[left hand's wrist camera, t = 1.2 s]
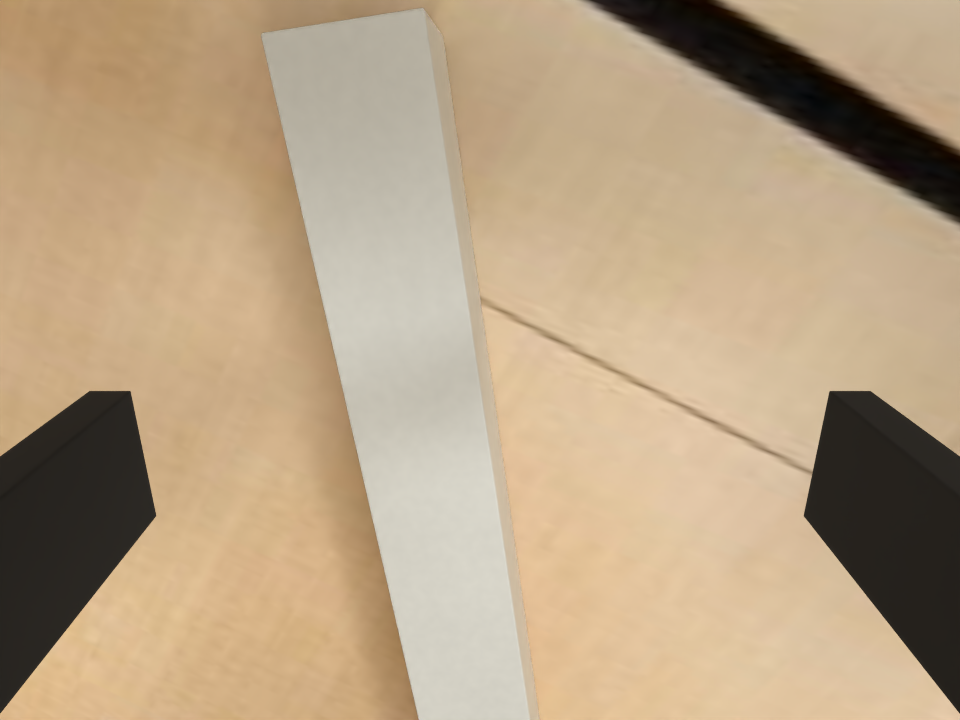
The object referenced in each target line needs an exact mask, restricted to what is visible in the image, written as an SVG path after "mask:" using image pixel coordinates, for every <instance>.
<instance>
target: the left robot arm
mask: <svg viewBox="0 0 960 720" xmlns="http://www.w3.org/2000/svg"><path fill="white" fill-rule="evenodd" d="M155 517H156V512H155V508H154V503H153V498H152V493H151V488H150V483H149V479H148V474H147V469H146V464H145V459H144V454H143V450H142V445H141V440H140V435H139V430H138V426H137V421H136V416H135V411H134V406H133V401H132V397H131V392H130V391H89V392H88V393H86V394H85V395H84V396H82V397H81V398H80V399H78V400H77V401H75V402H74V403H73V404H71V405H70V406H69V407H67V408H66V409H65V410H63V411H62V412H60V413H59V414H58V415H56V416H55V417H54V418H52V419H51V420H50V421H48V422H47V423H45V424H44V425H43V426H41V427H40V428H39V429H37V430H36V431H34V432H33V433H32V434H30V435H29V436H28V437H26V438H25V439H24V440H22V441H21V442H19V443H18V444H17V445H15V446H14V447H13V448H11V449H10V450H8V451H7V452H6V453H4V454H3V455H2V456H0V713H1V712H2V711H3V709H4V708H5V707H6V706H7V704H8V703H9V702H10V700H11V699H12V698H13V697H14V695H15V694H16V693H17V692H18V690H19V689H20V688H21V687H22V685H23V684H24V683H25V681H26V680H27V679H28V678H29V676H30V675H31V674H32V673H33V671H34V670H35V669H36V668H37V666H38V665H39V664H40V662H41V661H42V660H43V659H44V657H45V656H46V655H47V654H48V652H49V651H50V650H51V649H52V647H53V646H54V645H55V643H56V642H57V641H58V640H59V638H60V637H61V636H62V635H63V633H64V632H65V631H66V630H67V628H68V627H69V626H70V624H71V623H72V622H73V621H74V619H75V618H76V617H77V616H78V614H79V613H80V612H81V611H82V609H83V608H84V607H85V605H86V604H87V603H88V602H89V600H90V599H91V598H92V597H93V595H94V594H95V593H96V591H97V590H98V589H99V588H100V586H101V585H102V584H103V583H104V581H105V580H106V579H107V578H108V576H109V575H110V574H111V572H112V571H113V570H114V569H115V567H116V566H117V565H118V564H119V562H120V561H121V560H122V559H123V557H124V556H125V555H126V553H127V552H128V551H129V550H130V548H131V547H132V546H133V545H134V543H135V542H136V541H137V540H138V538H139V537H140V536H141V534H142V533H143V532H144V531H145V529H146V528H147V527H148V526H149V524H150V523H151V522H152V521H153V519H154V518H155ZM804 517H805V518H806V519H807V521H808V522H809V523H810V524H811V526H812V527H813V528H814V529H815V531H816V532H817V533H818V534H819V536H820V537H821V538H822V540H823V541H824V542H825V543H826V545H827V546H828V547H829V548H830V550H831V551H832V552H833V553H834V555H835V556H836V557H837V559H838V560H839V561H840V562H841V564H842V565H843V566H844V567H845V569H846V570H847V571H848V572H849V574H850V575H851V576H852V578H853V579H854V580H855V581H856V583H857V584H858V585H859V586H860V588H861V589H862V590H863V591H864V593H865V594H866V595H867V597H868V598H869V599H870V600H871V602H872V603H873V604H874V605H875V607H876V608H877V609H878V611H879V612H880V613H881V614H882V616H883V617H884V618H885V619H886V621H887V622H888V623H889V624H890V626H891V627H892V628H893V630H894V631H895V632H896V633H897V635H898V636H899V637H900V638H901V640H902V641H903V642H904V643H905V645H906V646H907V647H908V649H909V650H910V651H911V652H912V654H913V655H914V656H915V657H916V659H917V660H918V661H919V662H920V664H921V665H922V666H923V668H924V669H925V670H926V671H927V673H928V674H929V675H930V676H931V678H932V679H933V680H934V681H935V683H936V684H937V685H938V687H939V688H940V689H941V690H942V692H943V693H944V694H945V695H946V697H947V698H948V699H949V700H950V702H951V703H952V704H953V706H954V707H955V708H956V709H957V711H958V712H959V713H960V456H958V455H957V454H956V453H954V452H953V451H952V450H950V449H949V448H947V447H946V446H945V445H943V444H942V443H941V442H939V441H938V440H936V439H935V438H934V437H932V436H931V435H930V434H928V433H927V432H926V431H924V430H923V429H921V428H920V427H919V426H917V425H916V424H915V423H913V422H912V421H910V420H909V419H908V418H906V417H905V416H904V415H902V414H901V413H900V412H898V411H897V410H895V409H894V408H893V407H891V406H890V405H889V404H887V403H886V402H885V401H883V400H882V399H880V398H879V397H878V396H876V395H875V394H874V393H872V392H871V391H830V392H829V397H828V401H827V406H826V411H825V416H824V421H823V426H822V430H821V435H820V440H819V445H818V450H817V454H816V459H815V464H814V469H813V474H812V479H811V483H810V488H809V493H808V498H807V503H806V508H805V512H804Z"/></svg>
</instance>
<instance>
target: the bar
mask: <svg viewBox="0 0 960 720" xmlns="http://www.w3.org/2000/svg"><path fill="white" fill-rule="evenodd" d="M261 38H262V42H263V46H264V51H265V55H266V59H267V64H268V68H269V72H270V77H271V81H272V85H273V90H274V94H275V98H276V103H277V107H278V111H279V116H280V120H281V125H282V129H283V133H284V138H285V142H286V146H287V151H288V155H289V159H290V164H291V168H292V172H293V177H294V181H295V185H296V190H297V194H298V198H299V203H300V207H301V211H302V216H303V220H304V224H305V229H306V233H307V237H308V242H309V246H310V250H311V255H312V259H313V263H314V268H315V272H316V276H317V281H318V285H319V289H320V294H321V298H322V302H323V307H324V311H325V315H326V320H327V324H328V328H329V333H330V337H331V341H332V346H333V350H334V355H335V359H336V363H337V368H338V372H339V376H340V381H341V385H342V389H343V394H344V398H345V402H346V407H347V411H348V415H349V420H350V424H351V428H352V433H353V437H354V441H355V446H356V450H357V454H358V459H359V463H360V467H361V472H362V476H363V480H364V485H365V489H366V493H367V498H368V502H369V506H370V511H371V515H372V519H373V524H374V528H375V532H376V537H377V541H378V545H379V550H380V554H381V558H382V563H383V567H384V571H385V576H386V580H387V585H388V589H389V593H390V598H391V602H392V606H393V611H394V615H395V619H396V624H397V628H398V632H399V637H400V641H401V645H402V650H403V654H404V658H405V663H406V667H407V671H408V676H409V680H410V684H411V689H412V693H413V697H414V702H415V706H416V710H417V715H418V719H419V720H540V716H539V709H538V702H537V695H536V688H535V681H534V674H533V667H532V660H531V653H530V646H529V639H528V632H527V624H526V617H525V610H524V603H523V596H522V589H521V582H520V575H519V568H518V561H517V554H516V547H515V540H514V533H513V526H512V519H511V511H510V504H509V497H508V490H507V483H506V476H505V469H504V462H503V455H502V448H501V441H500V434H499V427H498V420H497V413H496V405H495V398H494V391H493V384H492V377H491V370H490V363H489V356H488V349H487V342H486V335H485V328H484V321H483V314H482V307H481V300H480V292H479V285H478V278H477V271H476V264H475V257H474V250H473V243H472V236H471V229H470V222H469V215H468V208H467V201H466V194H465V187H464V179H463V172H462V165H461V158H460V151H459V144H458V137H457V130H456V123H455V116H454V109H453V102H452V95H451V88H450V81H449V74H448V66H447V59H446V52H445V45H444V38H443V35H442V34H441V32H440V31H439V29H438V28H437V27H436V25H435V24H434V22H433V21H432V19H431V18H430V17H429V15H428V14H427V12H426V11H425V9H424V8H418V9H411V10H405V11H398V12H392V13H386V14H379V15H373V16H367V17H360V18H354V19H348V20H341V21H335V22H329V23H322V24H316V25H309V26H303V27H297V28H290V29H284V30H278V31H271V32H265V33H262V34H261Z"/></svg>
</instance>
